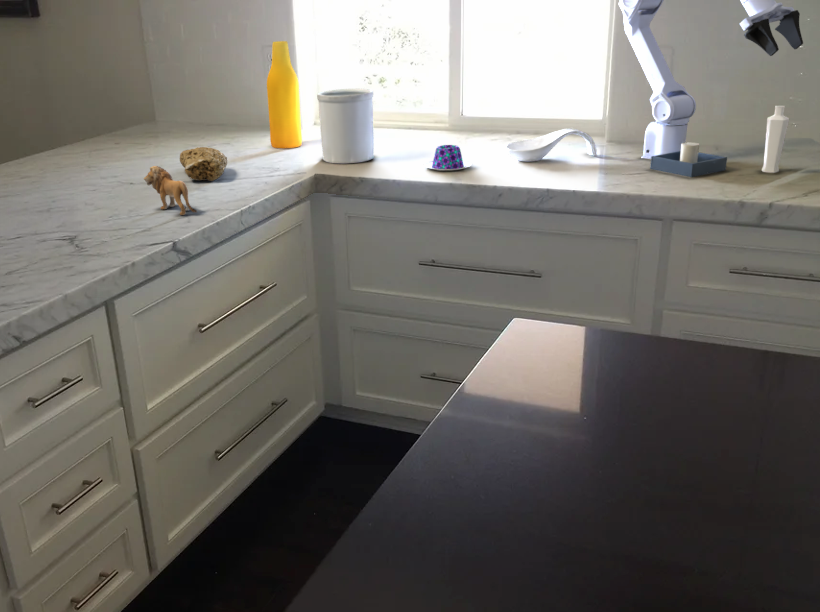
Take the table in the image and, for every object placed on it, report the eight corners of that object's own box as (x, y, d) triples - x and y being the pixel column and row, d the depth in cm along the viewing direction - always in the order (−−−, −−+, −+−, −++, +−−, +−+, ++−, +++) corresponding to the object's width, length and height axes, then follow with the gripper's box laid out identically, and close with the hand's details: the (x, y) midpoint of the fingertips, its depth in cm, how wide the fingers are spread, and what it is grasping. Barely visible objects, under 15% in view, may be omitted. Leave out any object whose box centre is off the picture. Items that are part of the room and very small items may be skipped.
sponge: (228, 186, 213) (233, 154, 229) (218, 157, 209) (225, 126, 225) (177, 197, 214) (186, 165, 230) (166, 168, 210) (176, 137, 226)
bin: (649, 170, 208) (651, 156, 207) (683, 163, 213) (685, 149, 212) (690, 178, 198) (692, 163, 197) (725, 171, 204) (727, 157, 203)
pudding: (439, 161, 227) (439, 140, 224) (480, 165, 220) (480, 144, 218) (415, 169, 218) (414, 148, 216) (457, 174, 211) (457, 152, 209)
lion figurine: (144, 208, 190) (139, 167, 187) (163, 203, 194) (158, 162, 190) (188, 217, 181) (183, 174, 178) (207, 212, 185) (202, 170, 182)
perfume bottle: (783, 174, 199) (794, 107, 193) (762, 174, 200) (772, 107, 194) (778, 170, 203) (788, 104, 197) (758, 170, 204) (768, 104, 198)
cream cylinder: (675, 169, 206) (678, 144, 204) (683, 166, 208) (686, 141, 206) (691, 171, 203) (694, 145, 201) (699, 169, 206) (702, 143, 203)
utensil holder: (311, 163, 230) (307, 94, 223) (333, 152, 243) (330, 87, 236) (362, 165, 225) (360, 95, 218) (382, 154, 238) (381, 88, 231)
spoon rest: (512, 165, 218) (513, 136, 216) (498, 156, 229) (499, 129, 226) (602, 159, 221) (604, 131, 218) (584, 151, 232) (586, 124, 229)
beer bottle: (274, 143, 260) (267, 40, 248) (304, 142, 258) (299, 40, 247) (267, 148, 251) (260, 43, 240) (298, 148, 250) (292, 42, 239)
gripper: (745, -9, 184) (776, 44, 182) (792, -20, 190) (823, 31, 187) (723, 13, 191) (753, 64, 188) (769, 2, 196) (799, 52, 193)
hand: (786, 49), depth 188 cm, fingers open, 7 cm apart
